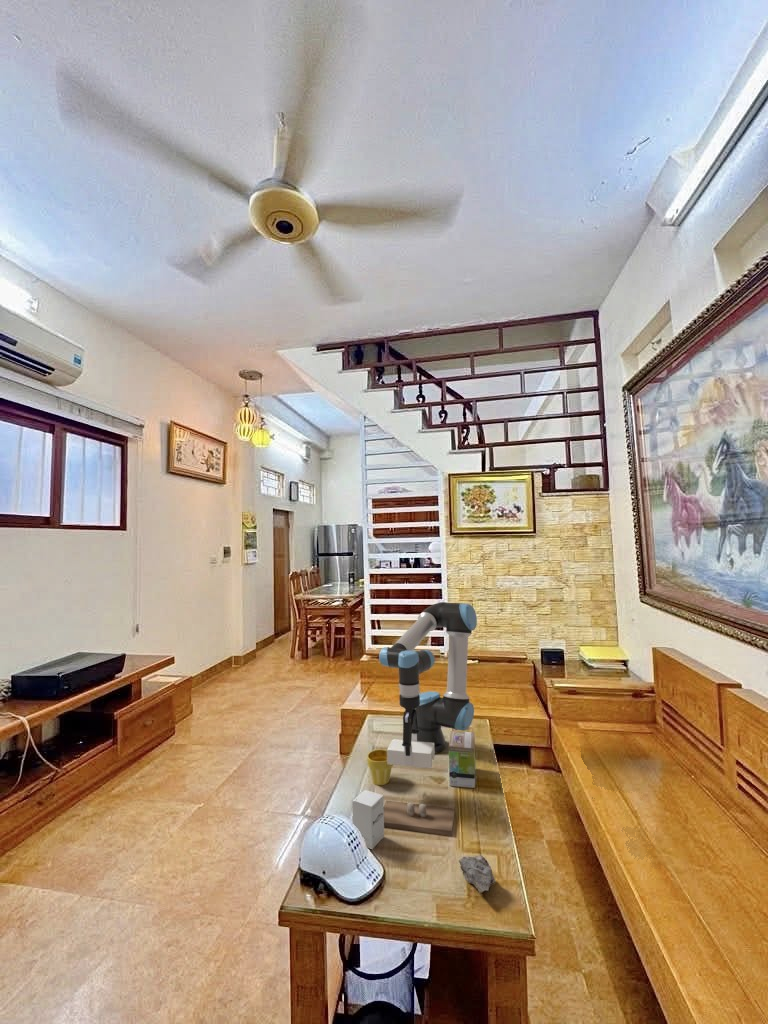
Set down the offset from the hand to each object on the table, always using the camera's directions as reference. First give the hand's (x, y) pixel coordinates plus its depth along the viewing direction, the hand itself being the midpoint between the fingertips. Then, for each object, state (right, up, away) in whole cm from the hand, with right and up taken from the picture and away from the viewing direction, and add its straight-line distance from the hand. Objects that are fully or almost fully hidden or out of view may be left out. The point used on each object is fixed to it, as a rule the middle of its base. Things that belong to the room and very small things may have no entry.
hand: (411, 757), depth 161 cm
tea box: (+21, -14, +11) cm, 28 cm away
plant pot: (-11, -15, +10) cm, 21 cm away
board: (+1, -12, -15) cm, 19 cm away
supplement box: (-15, -12, -24) cm, 31 cm away
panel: (0, -1, 0) cm, 1 cm away
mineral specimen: (+15, -10, -44) cm, 48 cm away
